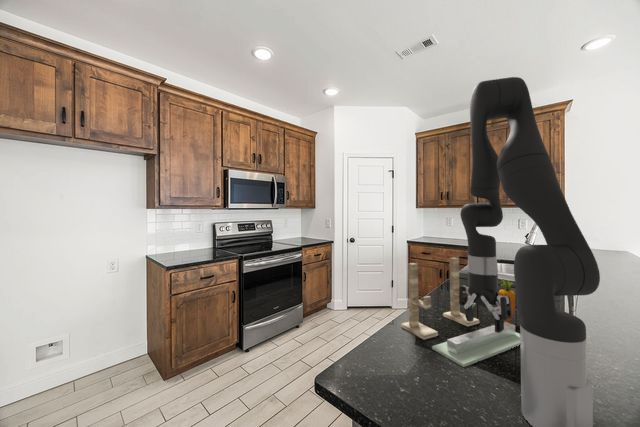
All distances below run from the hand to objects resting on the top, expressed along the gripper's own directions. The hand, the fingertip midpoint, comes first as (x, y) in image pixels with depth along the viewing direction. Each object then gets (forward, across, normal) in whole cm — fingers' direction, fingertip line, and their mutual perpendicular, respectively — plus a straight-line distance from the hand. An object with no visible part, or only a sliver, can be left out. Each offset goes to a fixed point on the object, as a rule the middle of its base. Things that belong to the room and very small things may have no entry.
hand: (483, 326), depth 77 cm
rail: (+5, 0, 0) cm, 5 cm away
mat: (+6, 0, 0) cm, 6 cm away
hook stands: (+5, -14, 0) cm, 15 cm away
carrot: (+6, -6, +22) cm, 24 cm away
